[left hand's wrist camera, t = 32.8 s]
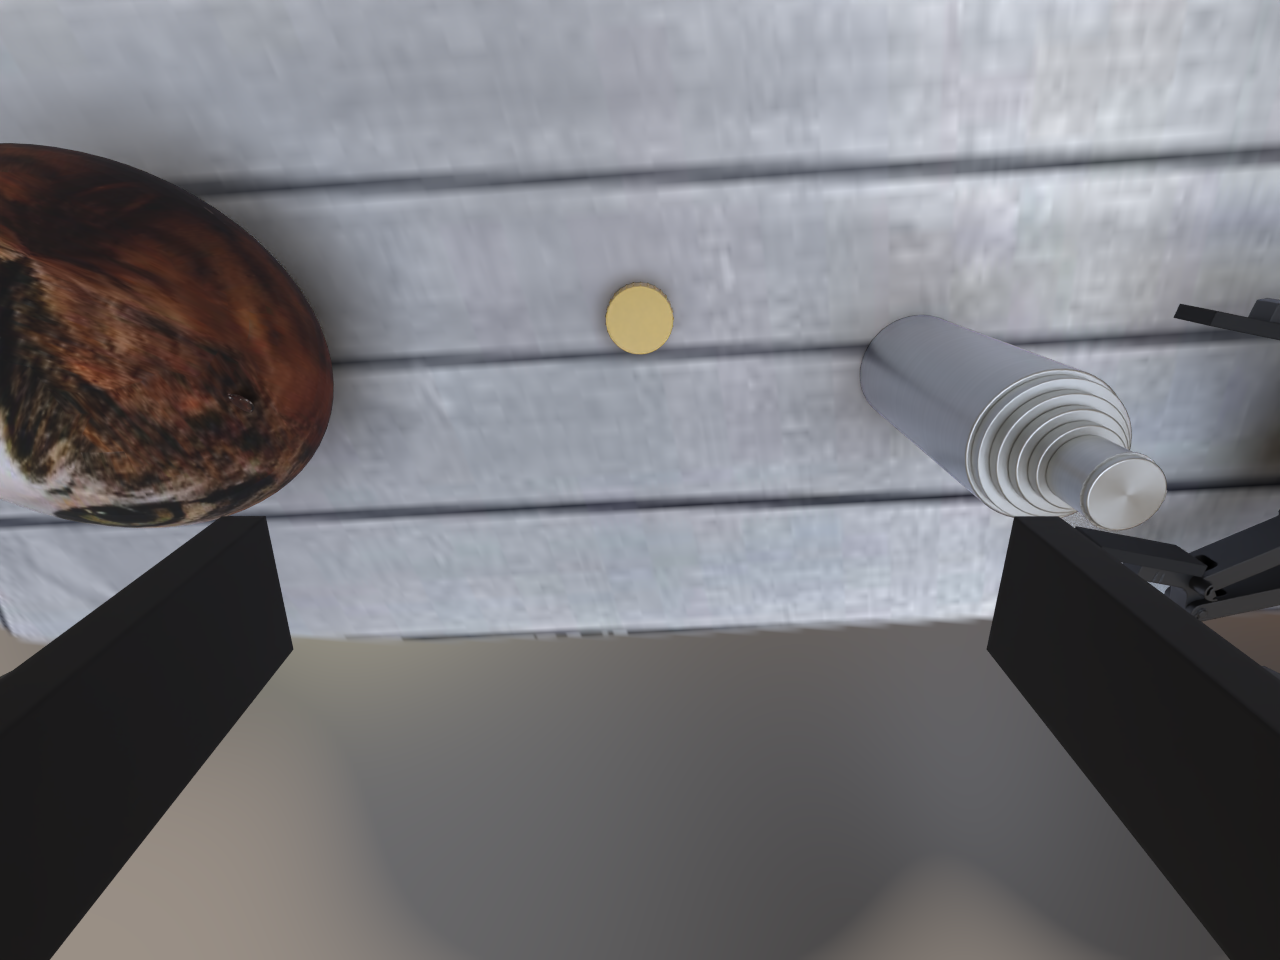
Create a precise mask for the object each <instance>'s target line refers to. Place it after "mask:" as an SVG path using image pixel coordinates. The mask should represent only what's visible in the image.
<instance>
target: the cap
mask: <svg viewBox="0 0 1280 960" xmlns="http://www.w3.org/2000/svg"><path fill="white" fill-rule="evenodd" d="M609 303H610V304H609V305H608V307H607V313H606V316H605V317H606V326H607V331H608V333H609V335H610V337H611V339H612V340H613V342H614V343H615V344H616V345H617V346H618V347H620V348H621V349H622V350H624V351H626V352H629V353H633V354H646V353H650V352H653V351H655V350H657V349H658V348H660V347H661V346H662V345H663V344H664V343H665V342H666V341H667V339H668V337H669V335H670V334H671V331H672V327H673V320H674V317H673V314H672V312H673V310H672V307H670V305H671V304H670V301H668V299H667V297H666V295H664V294H663V292H662V291H661V289H660V290H659V289H658V288H656V287H655V285H654V286H653V285H650V284H649V283H647V284H646V283H641V282H640V283H634V282H633V284H629V285H626V286H625V287H623V288H620V289H619V291H618V292H617V293H615V294H614V296H613V298H612V299H610V302H609Z"/></svg>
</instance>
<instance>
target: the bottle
mask: <svg viewBox="0 0 1280 960" xmlns="http://www.w3.org/2000/svg"><path fill="white" fill-rule="evenodd" d="M860 381H861V387H862V390H863V393H864V395H865V397H866V399H867V401H868V402H869V404H870V405H871V406H872V407H873V408H874V409H875V410H876V411H877V412H878V413H879V414H881V415H882V416H883V417H884V418H885V419H886V420H888V421H889V422H890V423H891V424H892V425H893V426H895V427H896V428H897V429H898V430H899V431H900V432H901V433H903V434H904V435H905V436H906V437H907V438H908V439H910V440H911V441H912V442H913V443H914V444H915V445H917V446H918V447H919V448H920V449H921V450H922V451H924V452H925V453H926V454H927V455H928V456H929V457H931V458H932V459H933V460H934V461H935V462H936V463H938V464H939V465H940V466H941V467H942V468H943V469H945V470H946V471H947V472H948V473H949V474H950V475H951V476H953V477H954V478H955V479H956V480H957V481H958V482H960V483H961V484H962V485H963V486H964V487H965V488H967V489H968V490H969V491H970V492H971V493H972V494H974V495H975V496H976V497H977V498H978V499H979V500H981V501H982V502H983V503H984V504H985V505H987V506H988V507H989V508H991V509H993V510H994V511H996V512H998V513H1000V514H1003V515H1006V516H1009V517H1013V518H1014V516H1059V517H1060V518H1062V517H1066V516H1069V515H1071V514H1074V513H1076V512H1080V513H1081V514H1082V515H1083V516H1084V517H1085V518H1086V520H1087V521H1089V522H1090V523H1091V524H1093V525H1094V526H1096V527H1098V528H1101V529H1105V530H1117V531H1119V530H1125V529H1130V528H1133V527H1135V526H1138V525H1140V524H1142V523H1143V522H1145V521H1146V520H1148V519H1149V518H1150V517H1151V516H1152V515H1153V514H1154V513H1155V512H1156V511H1157V510H1158V509H1159V507H1160V506H1161V504H1162V502H1163V501H1164V500H1165V496H1166V493H1167V490H1166V489H1167V483H1166V478H1165V475H1164V473H1163V471H1162V470H1161V468H1160V467H1159V466H1158V465H1157V464H1155V462H1154V461H1153V460H1152V459H1150V458H1149V457H1147V456H1146V455H1143V454H1140V453H1137V452H1132V451H1130V447H1131V439H1132V431H1131V423H1130V419H1129V416H1128V413H1127V411H1126V409H1125V407H1124V405H1123V403H1122V402H1121V401H1120V399H1119V398H1118V397H1117V395H1116V393H1115V392H1114V391H1113V390H1112V389H1111V387H1110V386H1108V385H1107V384H1106V383H1105V382H1104V381H1102V380H1101V379H1099V378H1097V377H1096V376H1094V375H1092V374H1089V373H1087V372H1084V371H1081V370H1079V369H1076V368H1073V367H1071V366H1068V365H1065V364H1063V363H1060V362H1057V361H1054V360H1052V359H1049V358H1046V357H1044V356H1041V355H1038V354H1035V353H1033V352H1030V351H1027V350H1025V349H1022V348H1019V347H1016V346H1014V345H1011V344H1008V343H1006V342H1003V341H1000V340H997V339H995V338H992V337H989V336H987V335H984V334H981V333H978V332H976V331H973V330H970V329H968V328H965V327H962V326H959V325H957V324H954V323H951V322H949V321H946V320H943V319H941V318H938V317H934V316H928V315H915V316H909V317H906V318H902V319H900V320H898V321H895V322H894V323H892V324H890V325H888V326H887V327H886V328H884V329H883V330H882V331H881V332H880V333H879V334H878V335H877V336H876V337H875V338H874V339H873V340H872V342H871V343H870V345H869V346H868V348H867V350H866V352H865V354H864V357H863V360H862V364H861V370H860Z"/></svg>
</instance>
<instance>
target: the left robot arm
mask: <svg viewBox="0 0 1280 960" xmlns="http://www.w3.org/2000/svg"><path fill="white" fill-rule="evenodd" d="M292 650H293V645H292V640H291V636H290V631H289V626H288V621H287V616H286V612H285V607H284V602H283V597H282V593H281V588H280V583H279V578H278V573H277V569H276V564H275V559H274V554H273V549H272V545H271V540H270V535H269V530H268V526H267V521H266V516H221V517H220V518H219V519H217V520H216V521H215V522H213V523H212V524H211V525H209V526H208V527H207V528H205V529H204V530H202V531H201V532H200V533H198V534H197V535H196V536H194V537H193V538H192V539H190V540H189V541H188V542H186V543H185V544H183V545H182V546H181V547H179V548H178V549H177V550H175V551H174V552H173V553H171V554H170V555H169V556H167V557H166V558H165V559H163V560H162V561H160V562H159V563H158V564H156V565H155V566H154V567H152V568H151V569H150V570H148V571H147V572H146V573H144V574H143V575H141V576H140V577H139V578H137V579H136V580H135V581H133V582H132V583H131V584H129V585H128V586H127V587H125V588H124V589H122V590H121V591H120V592H118V593H117V594H116V595H114V596H113V597H112V598H110V599H109V600H108V601H106V602H105V603H104V604H102V605H101V606H99V607H98V608H97V609H95V610H94V611H93V612H91V613H90V614H89V615H87V616H86V617H85V618H83V619H82V620H80V621H79V622H78V623H76V624H75V625H74V626H72V627H71V628H70V629H68V630H67V631H66V632H64V633H63V634H62V635H60V636H59V637H57V638H56V639H55V640H53V641H52V642H51V643H49V644H48V645H47V646H45V647H44V648H43V649H41V650H40V651H39V652H37V653H36V654H34V655H33V656H32V657H30V658H29V659H28V660H26V661H25V662H24V663H22V664H21V665H20V666H18V667H17V668H15V669H14V670H13V671H11V672H9V673H7V674H5V675H3V676H1V677H0V960H50V959H51V957H52V956H53V955H54V954H55V952H56V951H57V950H58V949H59V947H60V946H61V945H62V944H63V942H64V941H65V940H66V938H67V937H68V936H69V935H70V933H71V932H72V931H73V929H74V928H75V927H76V926H77V924H78V923H79V922H80V921H81V919H82V918H83V917H84V916H85V914H86V913H87V912H88V910H89V909H90V908H91V907H92V905H93V904H94V903H95V901H96V900H97V899H98V898H99V896H100V895H101V894H102V893H103V891H104V890H105V889H106V887H107V886H108V885H109V884H110V882H111V881H112V880H113V879H114V877H115V876H116V875H117V873H118V872H119V871H120V870H121V868H122V867H123V866H124V864H125V863H126V862H127V861H128V859H129V858H130V857H131V856H132V854H133V853H134V852H135V851H136V849H137V848H138V847H139V845H140V844H141V843H142V842H143V840H144V839H145V838H146V836H147V835H148V834H149V833H150V831H151V830H152V829H153V828H154V826H155V825H156V824H157V822H158V821H159V820H160V819H161V817H162V816H163V815H164V814H165V812H166V811H167V810H168V808H169V807H170V806H171V805H172V803H173V802H174V801H175V800H176V798H177V797H178V796H179V794H180V793H181V792H182V791H183V789H184V788H185V787H186V786H187V784H188V783H189V782H190V780H191V779H192V778H193V776H194V775H195V774H196V773H197V772H198V770H199V769H200V768H201V766H202V765H203V764H204V763H205V761H206V760H207V759H208V757H209V756H210V755H211V754H212V752H213V751H214V750H215V748H216V747H217V746H218V745H219V743H220V742H221V741H222V740H223V738H224V737H225V736H226V735H227V733H228V732H229V731H230V729H231V728H232V727H233V726H234V724H235V723H236V722H237V720H238V719H239V718H240V717H241V715H242V714H243V713H244V712H245V710H246V709H247V708H248V706H249V705H250V704H251V703H252V701H253V700H254V699H255V698H256V696H257V695H258V694H259V692H260V691H261V690H262V689H263V687H264V686H265V685H266V684H267V682H268V681H269V680H270V679H271V677H272V676H273V675H274V673H275V672H276V671H277V670H278V668H279V667H280V666H281V664H282V663H283V662H284V661H285V659H286V658H287V657H288V656H289V654H290V653H291V652H292ZM987 650H988V652H989V653H990V654H991V656H992V657H993V658H994V659H995V661H996V662H997V663H998V664H999V666H1000V667H1001V668H1002V670H1003V671H1004V672H1005V673H1006V675H1007V676H1008V677H1009V679H1010V680H1011V681H1012V682H1013V684H1014V685H1015V686H1016V687H1017V689H1018V690H1019V691H1020V692H1021V694H1022V695H1023V696H1024V698H1025V699H1026V700H1027V701H1028V703H1029V704H1030V705H1031V707H1032V708H1033V709H1034V710H1035V712H1036V713H1037V714H1038V715H1039V717H1040V718H1041V719H1042V721H1043V722H1044V723H1045V724H1046V726H1047V727H1048V728H1049V729H1050V731H1051V732H1052V733H1053V735H1054V736H1055V737H1056V738H1057V740H1058V741H1059V742H1060V743H1061V745H1062V746H1063V747H1064V749H1065V750H1066V751H1067V752H1068V754H1069V755H1070V756H1071V757H1072V759H1073V760H1074V761H1075V762H1076V764H1077V765H1078V766H1079V768H1080V769H1081V770H1082V772H1083V773H1084V774H1085V775H1086V777H1087V778H1088V779H1089V780H1090V782H1091V783H1092V784H1093V786H1094V787H1095V788H1096V789H1097V791H1098V792H1099V793H1100V794H1101V796H1102V797H1103V798H1104V800H1105V801H1106V802H1107V803H1108V805H1109V806H1110V807H1111V808H1112V810H1113V811H1114V812H1115V814H1116V815H1117V816H1118V817H1119V819H1120V820H1121V821H1122V822H1123V824H1124V825H1125V826H1126V828H1127V829H1128V830H1129V831H1130V833H1131V834H1132V835H1133V837H1134V838H1135V839H1136V840H1137V842H1138V843H1139V844H1140V845H1141V847H1142V848H1143V849H1144V851H1145V852H1146V853H1147V854H1148V856H1149V857H1150V858H1151V859H1152V861H1153V862H1154V863H1155V865H1156V866H1157V867H1158V868H1159V870H1160V871H1161V872H1162V873H1163V875H1164V876H1165V877H1166V879H1167V880H1168V881H1169V882H1170V884H1171V885H1172V886H1173V887H1174V889H1175V890H1176V891H1177V893H1178V894H1179V895H1180V896H1181V898H1182V899H1183V900H1184V901H1185V903H1186V904H1187V905H1188V906H1189V908H1190V909H1191V910H1192V912H1193V913H1194V914H1195V916H1196V917H1197V918H1198V919H1199V921H1200V922H1201V923H1202V924H1203V926H1204V927H1205V928H1206V929H1207V931H1208V932H1209V933H1210V935H1211V936H1212V937H1213V938H1214V940H1215V941H1216V942H1217V943H1218V945H1219V946H1220V947H1221V949H1222V950H1223V951H1224V952H1225V954H1226V955H1227V956H1228V958H1229V959H1230V960H1280V673H1277V672H1275V671H1273V670H1271V669H1269V668H1267V667H1265V666H1260V665H1259V664H1258V663H1256V662H1255V661H1254V660H1252V659H1251V658H1250V657H1248V656H1247V655H1246V654H1244V653H1243V652H1241V651H1240V650H1239V649H1237V648H1236V647H1235V646H1233V645H1232V644H1231V643H1229V642H1228V641H1227V640H1225V639H1224V638H1223V637H1221V636H1220V635H1218V634H1217V633H1216V632H1214V631H1213V630H1212V629H1210V628H1209V627H1208V626H1206V625H1205V624H1203V623H1202V622H1201V621H1200V620H1198V619H1197V618H1195V617H1194V616H1193V615H1191V614H1190V613H1189V612H1187V611H1186V610H1185V609H1183V608H1182V607H1181V606H1179V605H1178V604H1176V603H1175V602H1174V601H1172V600H1171V599H1170V598H1168V597H1167V596H1166V595H1164V594H1163V593H1162V592H1160V591H1159V590H1158V589H1156V588H1155V587H1153V586H1152V585H1151V584H1149V583H1148V582H1147V581H1145V580H1144V579H1143V578H1141V577H1140V576H1139V575H1137V574H1136V573H1134V572H1133V571H1132V570H1130V569H1129V568H1128V567H1126V566H1125V565H1124V564H1122V563H1121V562H1120V561H1118V560H1117V559H1115V558H1114V557H1113V556H1111V555H1110V554H1109V553H1107V552H1106V551H1105V550H1103V549H1102V548H1101V547H1099V546H1098V545H1097V544H1095V543H1094V542H1092V541H1091V540H1090V539H1088V538H1087V537H1086V536H1084V535H1083V534H1082V533H1080V532H1079V531H1078V530H1076V529H1075V528H1073V527H1072V526H1071V525H1069V524H1068V523H1067V522H1065V521H1064V520H1063V519H1061V518H1060V517H1059V516H1014V521H1013V526H1012V530H1011V535H1010V540H1009V545H1008V549H1007V554H1006V559H1005V564H1004V569H1003V573H1002V578H1001V583H1000V588H999V593H998V597H997V602H996V607H995V612H994V616H993V621H992V626H991V631H990V636H989V640H988V645H987Z"/></svg>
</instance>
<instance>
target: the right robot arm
mask: <svg viewBox="0 0 1280 960" xmlns="http://www.w3.org/2000/svg"><path fill="white" fill-rule="evenodd" d="M1174 318H1178V319H1182V320H1187V321H1191V322H1195V323H1200V324H1204V325H1209V326H1213V327H1218V328H1223V329H1228V330H1233V331H1238V332H1242V333H1247V334H1252V335H1257V336H1262V337H1267V338H1272V339H1276V340H1280V300H1277V299H1271V298H1265V299H1259V300H1257V301H1256V303H1255V305H1254V307H1253V309H1252V311H1251V313H1250V315H1249V317H1243V316H1238V315H1233V314H1229V313H1224V312H1219V311H1214V310H1209V309H1204V308H1199V307H1194V306H1189V305H1184V304H1180V305H1179V307H1178V309H1177V311H1176V314H1175V316H1174ZM1075 529H1076V530H1078V531H1079V532H1080V533H1082V534H1083V535H1084V536H1086V537H1087V538H1088V539H1090V540H1091V541H1092V542H1094V543H1095V544H1097V545H1098V546H1099V547H1101V548H1102V549H1103V550H1105V551H1106V552H1107V553H1109V554H1110V555H1111V556H1113V557H1114V558H1115V559H1117V560H1118V561H1120V562H1122V563H1123V564H1124V565H1125V566H1126V567H1128V568H1129V569H1130V570H1132V571H1133V572H1134V573H1136V574H1137V575H1139V576H1140V577H1141V578H1143V579H1144V580H1145V581H1148V582H1153V583H1159V584H1164V585H1169V586H1170V587H1168V588H1167V589H1166V591H1165V594H1164V595H1166V596H1167V597H1168V598H1170V599H1171V600H1172V601H1174V602H1175V603H1176V604H1178V605H1179V606H1181V607H1182V608H1183V609H1185V610H1186V611H1187V612H1189V613H1190V614H1191V615H1193V616H1194V617H1195V618H1197V619H1198V620H1200V621H1201V622H1202V621H1206V620H1211V619H1216V618H1221V617H1225V616H1230V615H1235V614H1240V613H1245V612H1249V611H1254V610H1259V609H1264V608H1268V607H1273V606H1278V605H1280V510H1279V515H1278V516H1277V517H1274V518H1272V519H1269V520H1267V521H1265V522H1262V523H1260V524H1258V525H1255V526H1253V527H1250V528H1248V529H1246V530H1243V531H1241V532H1239V533H1236V534H1234V535H1231V536H1229V537H1227V538H1224V539H1222V540H1219V541H1217V542H1215V543H1212V544H1210V545H1208V546H1205V547H1203V548H1200V549H1198V550H1196V551H1193V552H1191V553H1187V552H1186V551H1184V550H1183V549H1181V548H1180V547H1178V546H1176V545H1173V544H1167V543H1162V542H1157V541H1152V540H1146V539H1141V538H1136V537H1130V536H1125V535H1120V534H1114V533H1109V532H1104V531H1098V530H1093V529H1088V528H1083V527H1077V526H1076V527H1075Z"/></svg>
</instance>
